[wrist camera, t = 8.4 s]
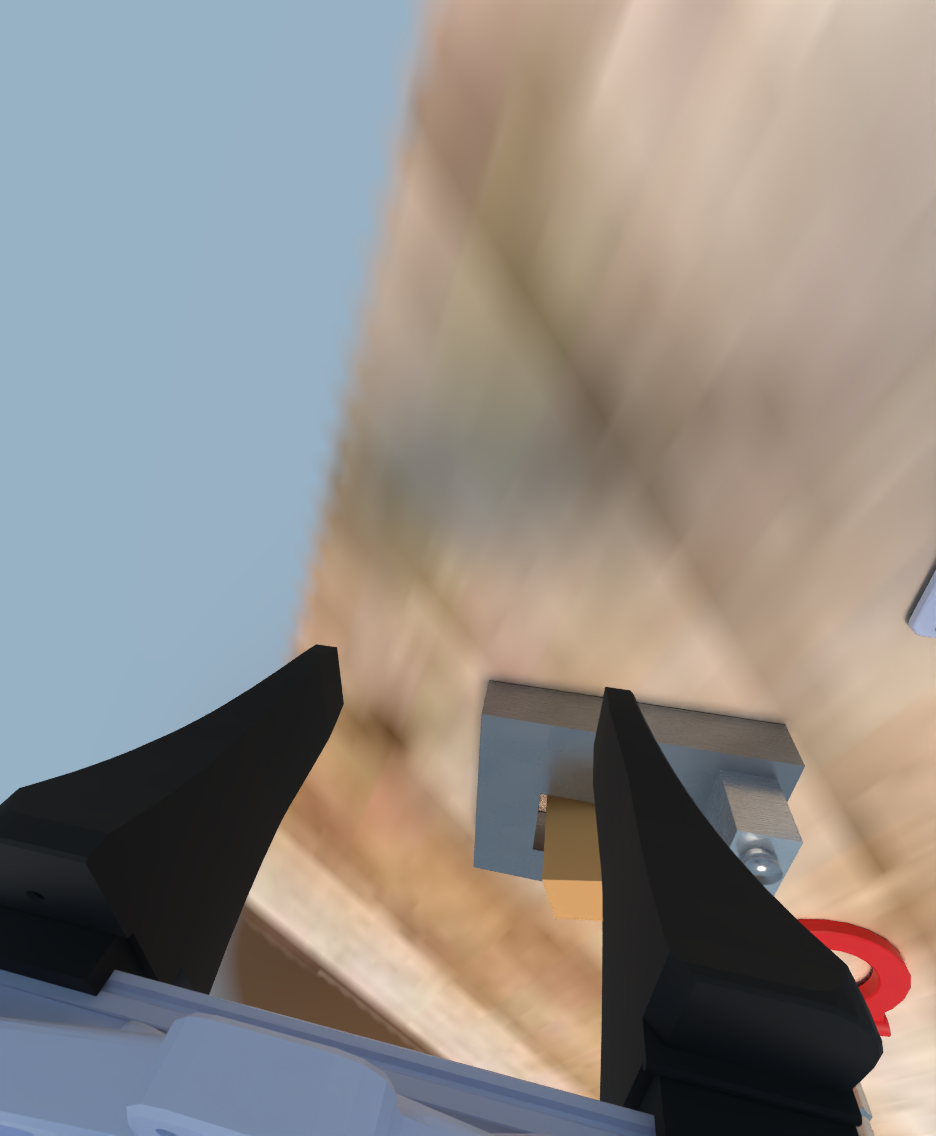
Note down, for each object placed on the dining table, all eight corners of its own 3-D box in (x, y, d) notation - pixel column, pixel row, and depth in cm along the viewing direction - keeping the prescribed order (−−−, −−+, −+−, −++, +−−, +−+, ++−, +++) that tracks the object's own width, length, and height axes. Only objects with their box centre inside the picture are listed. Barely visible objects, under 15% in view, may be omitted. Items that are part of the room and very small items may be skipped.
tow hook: (729, 907, 32) (739, 1001, 35) (823, 1280, 19) (824, 1364, 23) (904, 912, 29) (895, 1013, 33) (1141, 1348, 17) (1084, 1430, 20)
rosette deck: (785, 725, 24) (842, 845, 19) (718, 876, 30) (747, 1000, 24) (489, 680, 26) (467, 776, 21) (480, 829, 32) (460, 934, 27)
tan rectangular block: (603, 770, 27) (609, 881, 22) (612, 808, 29) (619, 921, 24) (548, 772, 28) (541, 879, 23) (558, 808, 30) (554, 918, 24)
